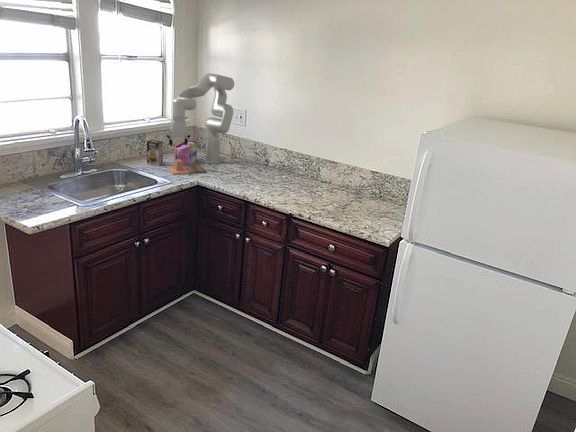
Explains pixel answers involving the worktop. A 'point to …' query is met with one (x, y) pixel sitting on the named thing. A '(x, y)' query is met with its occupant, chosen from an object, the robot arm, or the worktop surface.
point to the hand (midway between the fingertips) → (178, 145)
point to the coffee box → (155, 152)
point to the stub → (178, 168)
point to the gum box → (186, 152)
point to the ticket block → (195, 169)
